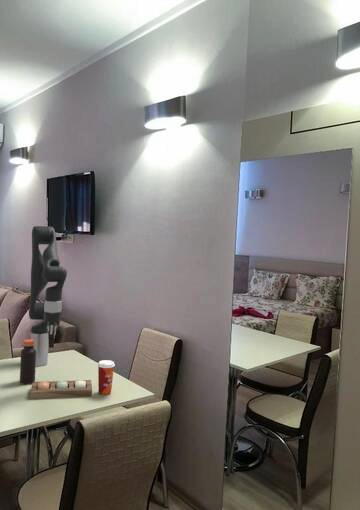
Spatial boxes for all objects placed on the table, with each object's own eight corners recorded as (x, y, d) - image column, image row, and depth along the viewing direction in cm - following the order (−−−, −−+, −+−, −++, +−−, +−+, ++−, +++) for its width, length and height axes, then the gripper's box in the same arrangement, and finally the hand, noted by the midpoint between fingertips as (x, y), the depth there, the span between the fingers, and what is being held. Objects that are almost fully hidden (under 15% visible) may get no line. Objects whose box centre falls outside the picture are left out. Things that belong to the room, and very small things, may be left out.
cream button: (74, 389, 187) (75, 380, 187) (85, 388, 188) (85, 380, 188) (74, 393, 182) (75, 384, 182) (85, 392, 183) (86, 384, 183)
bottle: (16, 382, 191) (18, 340, 190) (27, 378, 197) (29, 337, 196) (26, 385, 188) (28, 343, 187) (38, 381, 194) (39, 340, 193)
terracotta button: (37, 390, 183) (38, 381, 182) (49, 390, 184) (49, 381, 184) (37, 394, 178) (37, 385, 178) (48, 394, 179) (48, 385, 179)
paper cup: (107, 397, 181) (109, 366, 180) (92, 393, 184) (94, 363, 183) (116, 391, 188) (118, 361, 188) (102, 387, 191) (103, 358, 190)
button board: (32, 388, 185) (32, 381, 185) (90, 386, 192) (91, 380, 192) (29, 399, 174) (30, 392, 174) (91, 396, 181) (92, 389, 180)
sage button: (56, 389, 185) (56, 381, 184) (67, 389, 186) (67, 380, 186) (56, 394, 180) (56, 385, 180) (67, 393, 181) (67, 384, 181)
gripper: (45, 306, 190) (43, 342, 192) (43, 313, 177) (41, 352, 179) (61, 306, 192) (60, 342, 193) (60, 313, 179) (59, 351, 181)
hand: (51, 347), depth 186 cm, fingers closed
